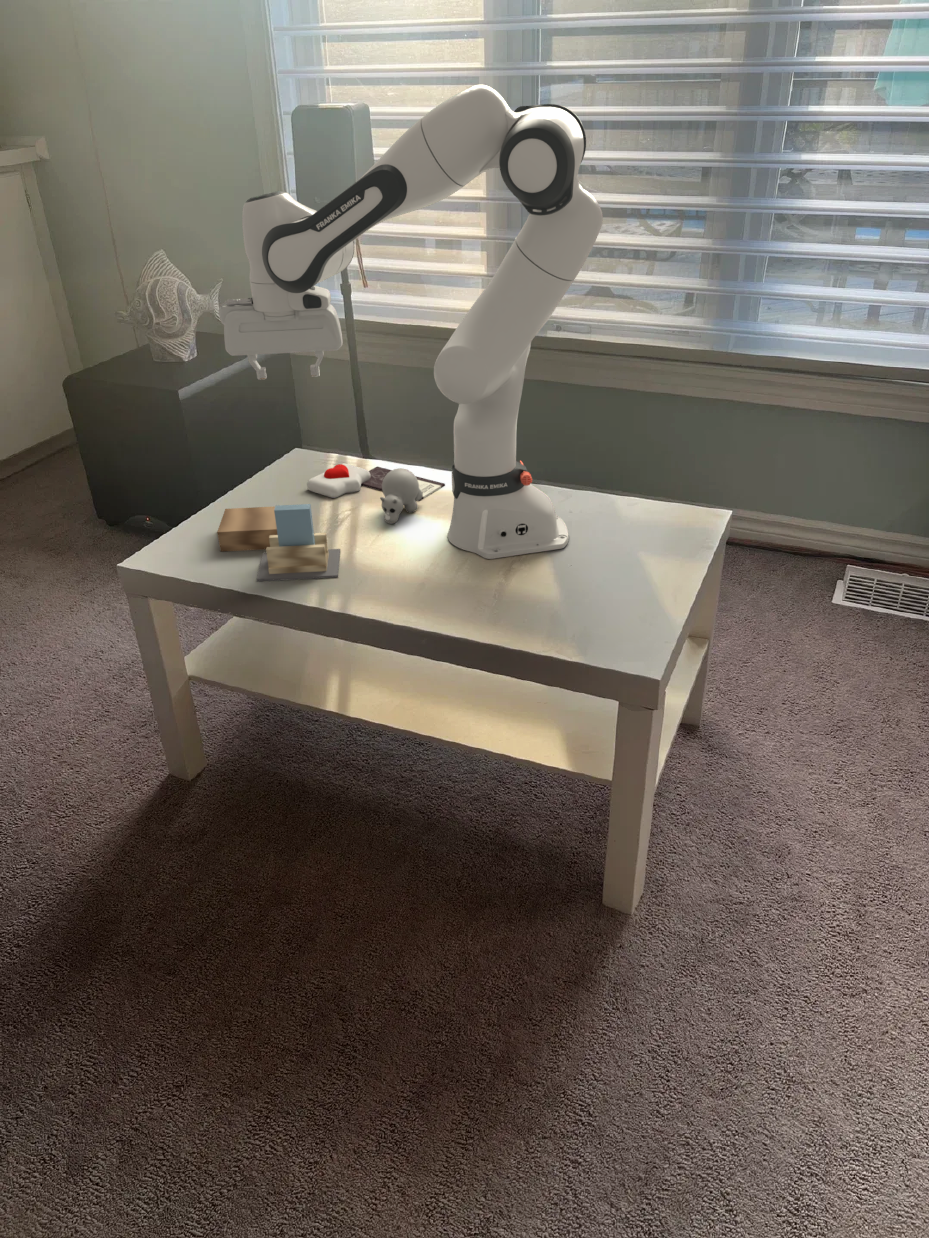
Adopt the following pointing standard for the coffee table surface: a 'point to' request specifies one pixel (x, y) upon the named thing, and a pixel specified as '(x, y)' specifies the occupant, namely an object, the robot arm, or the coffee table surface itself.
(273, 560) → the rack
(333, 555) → the mat
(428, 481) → the chocolate bar
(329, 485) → the icon
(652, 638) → the coffee table surface
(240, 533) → the block
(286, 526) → the pale blue rectangular prism
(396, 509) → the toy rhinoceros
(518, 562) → the coffee table surface
